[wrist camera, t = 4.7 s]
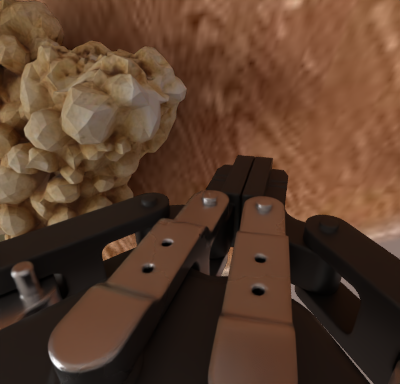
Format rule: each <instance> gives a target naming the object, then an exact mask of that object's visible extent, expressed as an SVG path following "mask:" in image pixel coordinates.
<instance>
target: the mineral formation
mask: <svg viewBox="0 0 400 384" xmlns="http://www.w3.org/2000/svg"><path fill="white" fill-rule="evenodd" d="M63 37H64V32H63V29H62V27H61V25H60V23H59V20H58V19H56V18H55V17H54V16H53V14H52V13H51V12H50V10H49V9H48V7H47V6H46V4H44V3H41V2H37V1H30V2H19V1H15V0H0V234H2V235H5V240H7V239H10V238H13V237H16V236H19V235H22V234H25V233H28V232H31V231H34V230H37V229H40V228H43V227H46V226H49V225H52V224H55V223H58V222H61V221H64V220H67V219H70V218H73V217H76V216H79V215H82V214H85V213H88V212H91V211H94V210H97V209H100V208H103V207H106V206H109V205H112V204H115V203H118V202H121V201H124V200H127V199H130V198H133V192H132V190H131V189H130V188H129V187H128V186H127V182H128V181H129V179H130V178H131V174H133V173H134V172H135V171H136V170H137V168H138V166H139V159H141V158H142V157H143V156H144V155H145V154H146V153H147V152H148V153H154V152H156V151H157V150H158V149H159V148H160V147H161V146H162V144H163V143H164V142H165V141H166V140H167V138H168V135H169V133H170V130H171V128H172V126H173V124H174V121H175V119H176V111H177V107H178V105H179V102H181V101H182V100H183V99H185V95H186V90H187V89H186V87H185V86H184V84H183V82H182V81H181V79H180V78H178V77H176V76H175V74H174V71H173V68H172V67H171V66H170V65H169V63H168V62H167V61H166V60H165V58H164V57H163V56H162V55H161V54H160V53H159V52H158V51H157V50H156V49H155V48H153V47H148V46H145V47H143V48H141V49H140V50H139V51H138V52H136V53H135V54H132V53H129V52H127V51H124V50H121V49H118V50H117V51H113V52H112V51H110V50H109V49H108V48H107V47H105V46H104V45H103V44H102V43H100V42H96V41H92V40H91V41H89V42H87V43H85V44H83V45H80V46H77V47H75V48H74V49H73V50H72V51H71V50H68V49H66V48H65V47H64V46H62V42H63Z"/></svg>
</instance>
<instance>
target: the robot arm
mask: <svg viewBox="0 0 400 384" xmlns="http://www.w3.org/2000/svg"><path fill="white" fill-rule="evenodd" d="M272 164H273V158H266V157H254V156H242V155H238V156H237V158H236V160H235V162H234V164H233V165H224V166H222V167H220V168H218V169H217V171H216V173H215V175H214V176H213V178H212V180H211V181H210V183H209V185H208V187H207V188H206V190H205V191H200V192H197V193H195V194H194V195H193V196H192V197H191V198H190V200H189V201H188V202H187V203H186V204H185V205H172V206H169V199H168V197H167V196H165V195H163V194H160V193H146V194H142V195H139V196H136V197H133V198H130V199H127V200H124V201H121V202H118V203H115V204H112V205H109V206H106V207H103V208H100V209H97V210H94V211H91V212H88V213H85V214H82V215H79V216H76V217H73V218H70V219H67V220H64V221H61V222H58V223H55V224H52V225H49V226H46V227H43V228H40V229H37V230H34V231H31V232H28V233H25V234H22V235H19V236H16V237H13V238H10V239H7V240H4V241H1V242H0V384H370V383H369V382H368V380H367V379H366V378H365V377H364V375H363V374H362V373H361V372H360V370H359V369H358V368H357V367H356V366H355V365H354V363H353V362H352V361H351V360H350V359H349V357H348V356H347V355H346V354H345V352H344V351H343V350H342V348H343V349H344V350H345V351H346V352H347V353H348V355H349V356H350V357H351V358H352V359H353V360H354V362H355V363H356V364H357V365H358V366H359V367H360V368H361V370H363V372H364V373H365V374H366V375H367V376H368V378H369V379H370V380H371V381H372V382H373V383H374V384H400V260H399V259H398V258H397V257H396V256H394V255H393V254H391V253H390V252H388V251H387V250H386V249H384V248H383V247H381V246H380V245H378V244H377V243H376V242H374V241H373V240H371V239H370V238H368V237H367V236H366V235H364V234H363V233H361V232H360V231H358V230H357V229H356V228H354V227H353V226H351V225H350V224H348V223H347V222H345V221H344V220H342V219H340V218H337V217H334V216H329V215H315V216H312V217H310V218H308V219H307V220H306V223H305V222H302V221H299V220H297V219H295V218H293V217H291V216H290V215H289V214H288V213H287V212H286V210H285V200H286V191H287V183H288V175H287V174H286V172H285V171H284V170H276V169H272ZM134 233H135V236H136V243H137V246H136V248H133V249H131V250H128V251H126V252H124V253H121V254H119V255H117V256H114V257H112V258H109V259H107V260H105V261H103V258H102V251H103V249H104V247H105V246H106V245H107V244H109V243H111V242H113V241H116V240H118V239H121V238H123V237H126V236H128V235H131V234H134ZM230 247H234V249H233V254H232V260H231V265H230V270H229V275H228V276H221V274H222V272H223V270H224V268H225V265H226V263H227V259H228V252H229V249H230ZM341 277H343V278H344V279H345V280H346V281H348V283H350V284H351V285H352V286H353V287H354V288H355V289H356V291H357V292H358V294H359V297H360V299H359V298H358V297H357V296H356V295H354V294H353V293H352V292H351V291H350V290H349V289H348V288H347V287H346V286H345V285H344V284H342V283H341V282H340V281H341ZM291 284H293V285H295V292H296V294H297V296H298V297H299V298H300V300H301V301H302V302H303V303H304V304H305V305H306V307H307V308H308V309H309V310H310V311H311V312H312V313H313V314H312V313H311V312H310V311H309V310H308V309H306V308H305V307H304V306H302V305H301V304H300V303H298V302H296V301H295V300H294V299H292V298H291ZM319 321H320V322H319ZM323 326H324V327H325V328H326V329H327V330H326V329H325V328H324V327H323ZM328 332H329V333H330V334H331V335H332V336H333V337H334V339H335V340H336V341H337V342H338V343H339V344H340V345H341V347H342V348H341V347H340V346H339V345H338V344H337V343H336V341H335V340H334V339H333V338H332V336H331V335H330V334H329V333H328Z"/></svg>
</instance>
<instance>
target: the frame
mask: <svg viewBox="0 0 400 384" xmlns="http://www.w3.org/2000/svg"><path fill="white" fill-rule="evenodd" d="M4 240H5V235H2V234H0V242H1V241H4Z"/></svg>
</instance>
